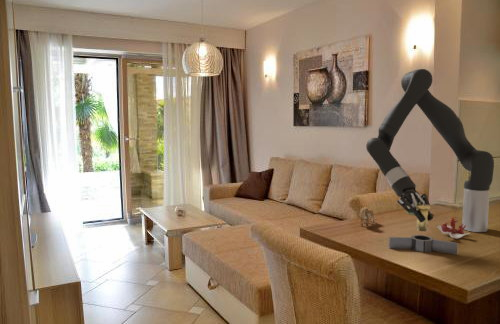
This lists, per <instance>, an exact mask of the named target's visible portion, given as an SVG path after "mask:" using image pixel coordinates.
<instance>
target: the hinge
mask: <svg viewBox="0 0 500 324" xmlns="http://www.w3.org/2000/svg"><path fill="white" fill-rule="evenodd" d="M458 244H459V243H458V242H455V241H449V240H448V241H447V240H440V239H436V238H435V239H434V237H431V236H429V235H424V234H412V235H411V236H410V237H407V236H402V237H401V236H389V237H388V248H389V249H391V250H392V249H398V250H399V249H400V250H404V249H405V250H406V249H407V250H413V251H415V252H421V253H431V252H437V253H443V254H448V255H456V256H457V255H458V247H459V245H458Z"/></svg>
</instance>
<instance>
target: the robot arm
mask: <svg viewBox="0 0 500 324" xmlns="http://www.w3.org/2000/svg"><path fill="white" fill-rule="evenodd" d="M400 83H401V88H402V90H403V91H404V94H403V95H402V96H401V98H400V99H399V101H397V103H396V104H395V105H394V106H393V107H392V108H391V109H390V111H389V112H388V113H387V114H386V116H385V117H384V119H383V120H382V122H381V124H380V125H379V127H378V129H377V130H378V135H377V137H372V138H370V139H368V141H367V143H366V151H367V153H368V154H369V155H370V157H371V158H372V159H373V161H375V163H376V165H377V167H378V168H379V170H380V171H381V173H382V175H383V176H384V177H385V179H386V181H387V182H388V184H389V185H390V187H391V189H392V190H393V192H394V193H395V195H396V196H397V197H398V200H396V201H397V203H398V204H399V205H400V206H401V207H402V208H403V209H404V210H405V211H406V213H407V212H408V213H413V214H415V215H414V216H415V217H416V219H417V218H418V220H419V221H420V222H424V221H425V220H426V218H425V217H424V215H423V214H422V213H421V211H419V209H418V208H417V206H416V205H417V204H418V203H419V202H420V204H427V205H430V206H431V204H430V201H429V199H428V196H427V194H425V193H422V194H420V193H419V192H418V191H417V190H416V188H417V185H416V184H415V182H414V181H413V180H412V178H411V177H410V175H409V174H408V173H407V171H406V170H405V169H404V168H403V167H402V166H401V164H400V163H399V162H398V160H397V159H396V158H395V157H394V155H393V154H392V153H391V151H390V150H391V147H392V146H393V145H392V144H393V143H394V140H395V138H396V135H397V134H398V132H399V131H400V129H401V128H402V126H403V124H404V122H405V121H406V119H407V117H408V116H409V115H410V113H411V112H412V111H413V108H414V107H415V106H416V105H417V106H418V107H419V108H420V110H421V111H422V112H423V114H424V115H425V117H426V118H427V119H428V120H429V121H430V123H431V124H432V126H433V127H434V128H435V130H436V131H437V133H438V134H439V135H440V136H441V137H442V138H443V140H444V141H445V142H446V144H447V145H448V146H449V147H450V148H451V150H452V151H453V153H454V155H455V156H456V157H457V159H458V161H459V162H460V164H461V166H462V167H463V168H464V169H465V170H467V171H468V172H470V176H469V179H468V180H465V181H464V184H463V199H462V200H463V204H462V219H461V220H462V223H461V225H462V224H463V226H462V227H464V226H465V225H466V227H465V228H464V229H463V231H464V230H465V231H468V232H473V233H485V232H488V222H489V205H490V189H491V184H492V183H493V180H494V179H493V178H494V170H495V169H494V167H495V160H494V156H493V155H492V154H491V153H490V152H488V151H486V150H485V151H484V150H479V149H476V148H475V147H474V145H472V143H471V142H470V141H469V140H468V138H467V136H466V133H465V129H464V124H463V122H462V121H461V119H460V118H459V116H458V115H457V114H456V113H455V111H454V110H453V109H452V108H451V107H450V106H448V105H447V104H445V103H444V102H442V101H441V100H439V99H438V98H436V97H435V96H434V95H433V94H432V93H431V91H430V87H431V86H432V85H433V75H432V73H431V72H430V71H429V70H428V69H425V68H419V69H416V70H413V71H410V72H408V73H406V74H405V73H404V75H402V78H401V81H400ZM407 207H408V208H407ZM414 207H415V208H414ZM408 213H407V214H408ZM433 219H434V216H433V214H432V213H431V212H430V209H429V210H428V222H431V221H432V220H433Z"/></svg>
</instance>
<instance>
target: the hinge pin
mask: <svg viewBox="0 0 500 324" xmlns="http://www.w3.org/2000/svg"><path fill="white" fill-rule="evenodd" d="M416 206H417V208H418V209H419V211H421V213H422V214H423V215H424V217H425V218H426V220H425V221H424V222H420V221H419V220H418V218H417V217H416V227H415V228H416V231H419V232H427V231H428V225H429V224H428V223H429V221H428V209H429V210H430V209H431V204H430V205H427V204H417V205H416Z"/></svg>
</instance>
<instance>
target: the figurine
mask: <svg viewBox="0 0 500 324" xmlns="http://www.w3.org/2000/svg"><path fill="white" fill-rule="evenodd" d="M457 218H458V217H451V218H450V219H451V220H450V222H449V223H450V225H448V224H449V223H448V222H444V223H442V225H440V224H438V225H436V227H437V228H438V230H440V233H442V234H443V235H445V234H448V235H449V236H450V238H452V239H456V240H458V239H461V238H463V237H464V236H466V235H467V236H468V235H470V234H471V233H470V232H465V231H464V228H465V227H466V225H465V226H464V227H462V226H463V224H462V223H461V225H459V226H458V228H457V229H456V223H457V222H458V220H455V219H457Z"/></svg>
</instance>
